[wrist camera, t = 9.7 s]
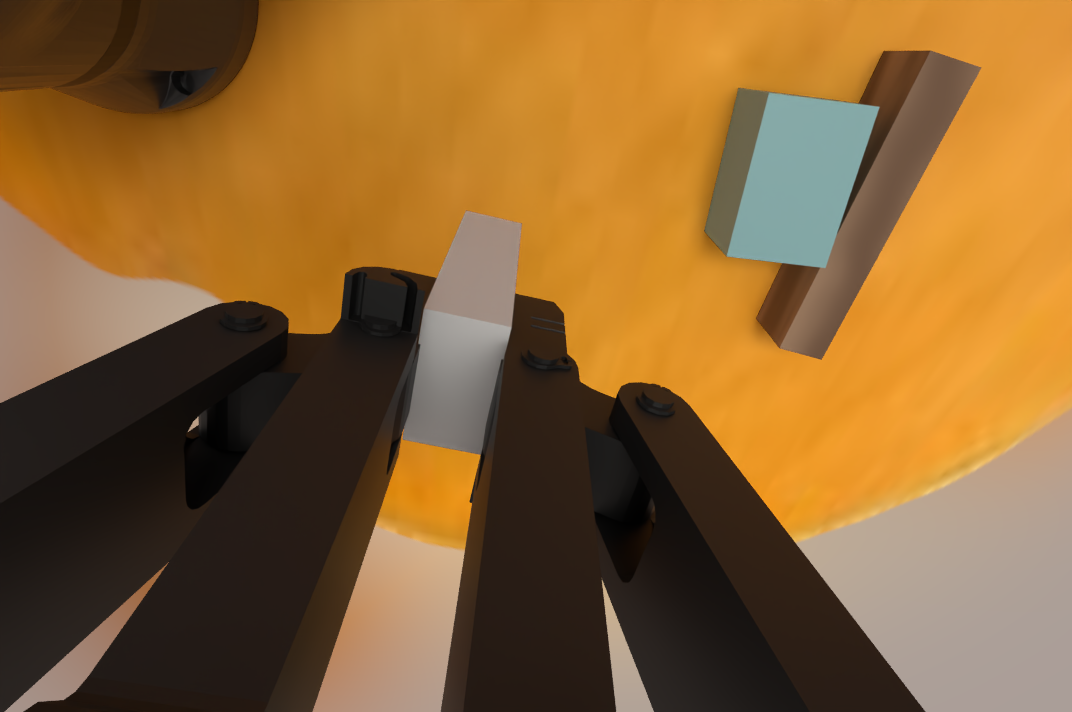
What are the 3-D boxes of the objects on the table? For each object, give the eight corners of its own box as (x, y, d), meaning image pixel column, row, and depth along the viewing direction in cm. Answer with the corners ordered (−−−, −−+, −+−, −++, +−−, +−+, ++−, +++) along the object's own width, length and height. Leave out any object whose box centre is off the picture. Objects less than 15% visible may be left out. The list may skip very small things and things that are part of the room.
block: (703, 230, 42) (726, 256, 36) (738, 87, 38) (769, 92, 32) (789, 240, 42) (825, 268, 37) (832, 99, 38) (879, 106, 33)
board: (756, 318, 44) (779, 348, 40) (883, 51, 37) (930, 50, 32) (794, 329, 45) (821, 359, 40) (928, 66, 37) (981, 67, 32)
